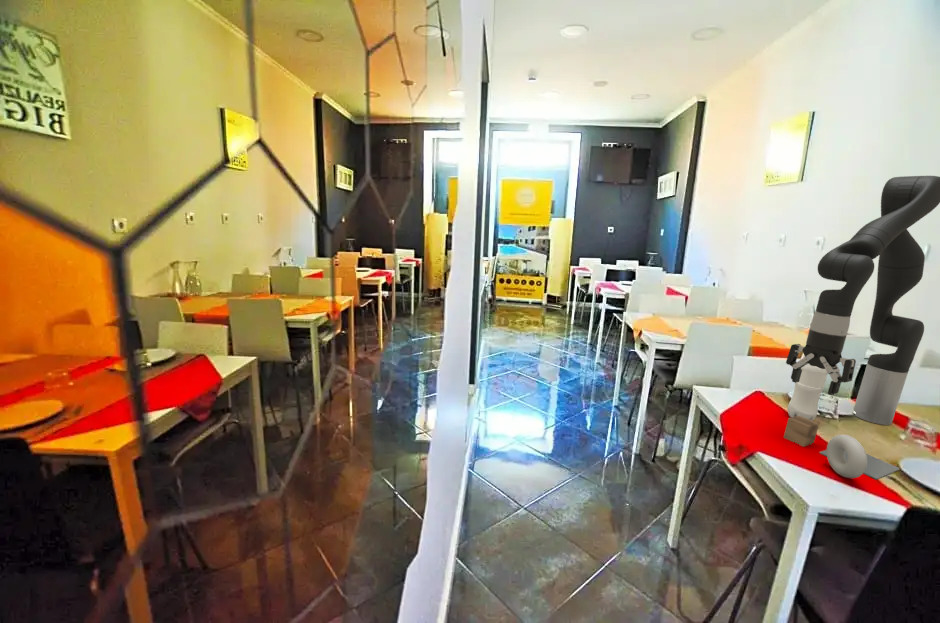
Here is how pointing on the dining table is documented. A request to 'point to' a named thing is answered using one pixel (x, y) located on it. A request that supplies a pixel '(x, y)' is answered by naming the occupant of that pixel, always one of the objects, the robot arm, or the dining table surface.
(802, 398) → the water bottle
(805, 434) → the walnut block
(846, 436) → the donut
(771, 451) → the dining table surface
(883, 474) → the slate mat
